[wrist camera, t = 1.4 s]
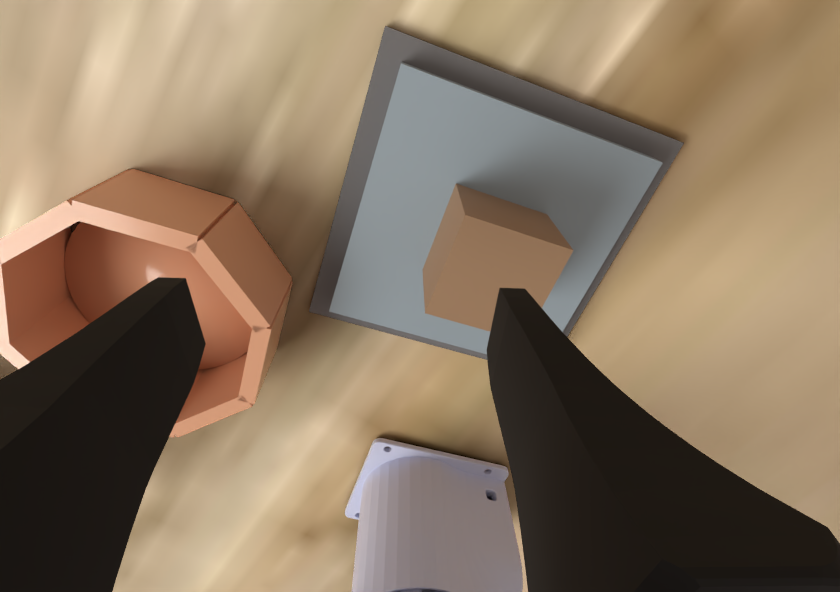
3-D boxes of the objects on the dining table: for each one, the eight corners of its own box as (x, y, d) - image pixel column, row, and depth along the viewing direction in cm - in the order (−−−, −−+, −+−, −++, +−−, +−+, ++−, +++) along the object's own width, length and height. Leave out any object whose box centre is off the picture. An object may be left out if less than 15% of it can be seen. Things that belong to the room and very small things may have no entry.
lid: (652, 157, 21) (714, 190, 17) (536, 357, 27) (560, 421, 23) (401, 61, 19) (399, 71, 15) (331, 301, 25) (315, 359, 20)
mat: (679, 141, 21) (683, 143, 21) (542, 370, 28) (544, 375, 28) (385, 26, 19) (385, 25, 19) (310, 307, 25) (308, 311, 25)
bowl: (307, 221, 23) (286, 261, 19) (266, 393, 28) (243, 452, 24) (50, 143, 21) (-33, 170, 17) (58, 345, 26) (-3, 400, 22)
